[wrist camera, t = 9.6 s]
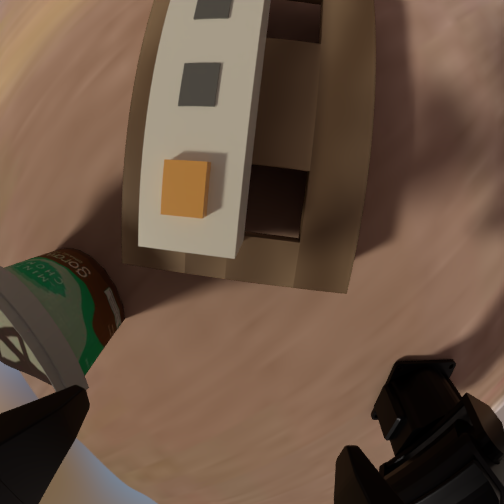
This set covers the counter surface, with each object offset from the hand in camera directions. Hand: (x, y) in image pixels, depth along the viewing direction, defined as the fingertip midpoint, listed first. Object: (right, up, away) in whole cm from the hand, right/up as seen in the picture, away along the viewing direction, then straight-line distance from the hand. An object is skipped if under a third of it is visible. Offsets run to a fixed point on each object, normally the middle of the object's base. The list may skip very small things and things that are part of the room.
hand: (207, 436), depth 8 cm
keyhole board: (+2, +14, +8) cm, 16 cm away
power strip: (0, +14, +7) cm, 16 cm away
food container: (-13, +4, +12) cm, 18 cm away
